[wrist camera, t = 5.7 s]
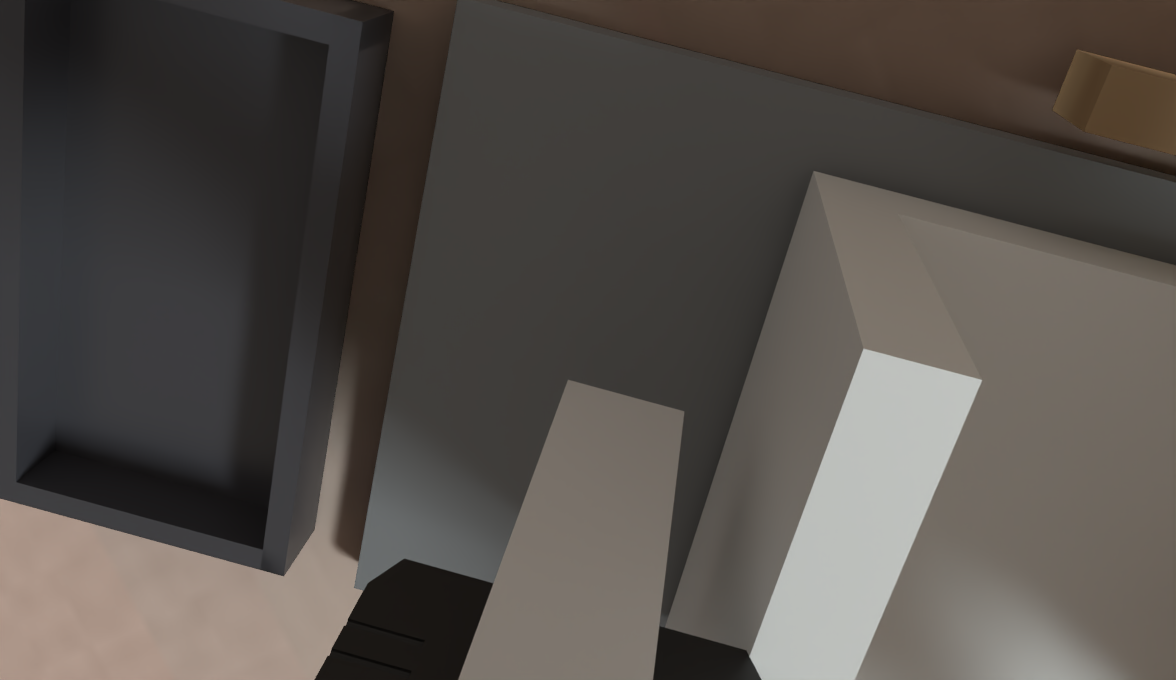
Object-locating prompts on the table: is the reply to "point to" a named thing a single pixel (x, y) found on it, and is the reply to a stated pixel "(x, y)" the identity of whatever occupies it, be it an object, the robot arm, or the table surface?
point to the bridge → (1120, 101)
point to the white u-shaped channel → (946, 456)
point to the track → (645, 253)
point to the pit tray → (180, 259)
